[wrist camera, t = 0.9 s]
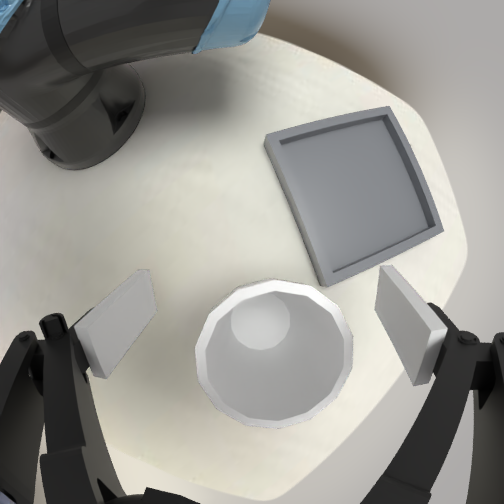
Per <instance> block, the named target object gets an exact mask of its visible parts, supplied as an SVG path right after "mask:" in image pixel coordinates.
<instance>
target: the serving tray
mask: <svg viewBox="0 0 504 504" xmlns="http://www.w3.org/2000/svg"><path fill="white" fill-rule="evenodd" d="M264 146H265V149H266V151H267V153H268V156H269V158H270V160H271V162H272V165H273V167H274V169H275V172H276V174H277V176H278V179H279V181H280V184H281V186H282V188H283V191H284V193H285V196H286V198H287V200H288V203H289V205H290V208H291V210H292V213H293V215H294V218H295V220H296V223H297V225H298V228H299V230H300V233H301V236H302V238H303V241H304V243H305V246H306V249H307V251H308V254H309V256H310V259H311V262H312V264H313V267H314V270H315V273H316V275H317V278H318V281H319V284H320V286H325V287H329V286H331V285H334V284H336V283H338V282H340V281H343V280H345V279H347V278H349V277H352V276H354V275H356V274H358V273H360V272H363V271H365V270H367V269H369V268H371V267H373V266H375V265H378V264H380V263H382V262H384V261H386V260H388V259H390V258H392V257H394V256H396V255H398V254H400V253H402V252H404V251H406V250H408V249H410V248H412V247H414V246H416V245H418V244H420V243H422V242H424V241H426V240H428V239H430V238H432V237H434V236H436V235H438V234H440V233H442V232H443V231H444V229H443V226H442V223H441V220H440V217H439V214H438V211H437V209H436V206H435V203H434V200H433V198H432V195H431V192H430V190H429V187H428V185H427V182H426V180H425V178H424V175H423V173H422V170H421V168H420V166H419V164H418V161H417V159H416V157H415V155H414V153H413V150H412V148H411V146H410V144H409V142H408V140H407V138H406V136H405V134H404V132H403V130H402V128H401V126H400V124H399V123H398V121H397V119H396V117H395V115H394V113H393V112H392V110H391V108H390V106H386V107H380V108H375V109H369V110H364V111H359V112H354V113H349V114H344V115H340V116H335V117H331V118H327V119H322V120H318V121H314V122H310V123H306V124H303V125H299V126H295V127H291V128H288V129H284V130H281V131H277V132H274V133H270V134H267V135H266V136H265V141H264Z"/></svg>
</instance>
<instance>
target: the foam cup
mask: <svg viewBox="0 0 504 504" xmlns="http://www.w3.org/2000/svg"><path fill="white" fill-rule="evenodd" d="M195 356H196V366H197V376H198V382H199V384H200V385H201V387H202V388H203V390H204V391H205V393H206V394H207V396H208V397H209V399H210V400H211V402H212V403H213V405H214V406H215V407H216V409H218V410H219V411H221V412H223V413H224V414H226V415H228V416H230V417H231V418H233V419H235V420H237V421H238V422H240V423H242V424H244V425H247V426H256V427H265V428H277V429H279V428H283V427H286V426H290V425H293V424H296V423H300V422H303V421H306V420H309V419H312V418H313V417H314V416H315V415H317V414H318V413H319V412H320V411H322V410H323V409H324V408H325V407H327V406H328V405H329V404H330V403H331V402H333V401H334V400H335V399H336V398H337V397H338V395H339V393H340V391H341V389H342V388H343V386H344V384H345V382H346V380H347V378H348V376H349V374H350V372H351V370H352V362H353V335H352V332H351V330H350V328H349V326H348V324H347V322H346V320H345V318H344V316H343V314H342V312H341V309H340V307H339V306H338V305H336V304H335V303H334V302H332V301H331V300H330V299H328V298H327V297H325V296H324V295H323V294H321V293H320V292H319V291H317V290H316V289H315V288H313V287H312V286H310V285H306V284H302V283H296V282H290V281H285V280H279V279H273V278H268V279H264V280H261V281H257V282H253V283H250V284H246V285H243V286H239V287H237V288H236V289H234V290H233V291H232V292H231V293H230V294H229V295H228V296H226V297H225V298H224V299H223V300H222V301H221V302H219V303H218V304H217V305H216V306H215V307H214V308H212V310H211V312H210V313H209V315H208V317H207V320H206V322H205V324H204V327H203V329H202V332H201V334H200V336H199V339H198V341H197V344H196V346H195Z"/></svg>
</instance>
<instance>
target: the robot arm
mask: <svg viewBox="0 0 504 504" xmlns="http://www.w3.org/2000/svg"><path fill="white" fill-rule="evenodd" d="M270 1H271V0H0V109H2V110H3V111H5V112H6V113H8V114H9V115H10V116H12V117H13V118H15V119H16V120H18V121H19V122H21V123H22V124H23V125H25V126H26V127H28V129H29V131H30V133H31V135H32V137H33V138H34V140H35V142H36V144H37V145H38V147H39V149H40V151H41V152H42V154H43V155H44V156H45V157H46V158H47V159H48V160H50V161H51V162H53V163H55V164H56V165H58V166H60V167H62V168H65V169H70V170H78V169H84V168H88V167H91V166H93V165H96V164H98V163H100V162H101V161H103V160H105V159H106V158H108V157H109V156H111V155H112V154H113V153H114V152H116V151H117V150H118V149H119V148H120V147H121V146H122V145H123V144H124V143H125V142H126V141H127V139H128V138H129V137H130V136H131V134H132V133H133V131H134V130H135V128H136V126H137V125H138V123H139V120H140V118H141V116H142V113H143V110H144V105H145V91H144V87H143V84H142V82H141V80H140V78H139V76H138V74H137V73H136V71H135V70H134V69H133V68H132V67H131V66H130V65H129V64H127V63H131V62H135V61H140V60H145V59H150V58H156V57H161V56H168V55H174V54H181V53H189V52H192V54H197V53H199V52H201V51H202V50H208V49H216V48H225V47H235V46H239V45H243V44H245V43H247V42H248V41H250V40H251V39H252V38H253V37H254V36H255V35H256V33H257V32H258V30H259V29H260V27H261V25H262V23H263V21H264V18H265V16H266V13H267V10H268V7H269V4H270ZM157 311H158V310H157V305H156V301H155V296H154V291H153V286H152V281H151V275H150V270H137V271H136V272H135V273H134V274H133V275H131V276H130V277H129V278H128V279H127V280H125V281H124V282H123V283H122V284H121V285H120V286H118V287H117V288H116V289H115V290H114V291H113V292H112V293H110V294H109V295H108V296H107V297H106V298H105V299H104V300H102V301H101V302H100V303H99V304H98V305H97V306H96V307H94V308H92V309H90V310H89V311H88V312H87V313H86V314H85V315H83V316H82V317H81V318H80V319H79V320H78V321H77V322H76V323H75V324H74V325H72V326H71V327H70V328H69V329H68V327H67V324H66V321H65V318H64V316H63V314H61V313H54V314H50V315H47V316H46V317H44V318H42V319H41V320H40V322H39V325H40V327H41V330H42V332H43V335H44V337H45V340H37V337H36V335H35V333H34V332H33V331H23V332H21V333H19V335H17V336H16V337H15V338H14V340H13V342H12V343H11V345H10V347H9V349H8V351H7V352H6V354H5V356H4V358H3V360H2V362H1V364H0V504H33V502H34V494H35V481H36V472H37V463H38V456H39V449H40V442H41V437H42V432H43V426H44V423H45V435H46V445H47V454H42V455H41V456H40V469H41V476H42V482H43V487H44V493H45V498H46V503H47V504H200V503H198V502H195V501H192V500H190V499H188V498H186V497H183V496H181V495H177V494H173V493H168V492H164V491H160V490H156V489H152V488H148V487H146V490H145V492H144V494H136V495H128V496H127V495H126V494H125V492H124V491H123V489H122V487H121V485H120V482H119V480H118V477H117V475H116V472H115V469H114V467H113V464H112V461H111V458H110V455H109V453H108V450H107V447H106V443H105V440H104V437H103V434H102V430H101V427H100V424H99V420H98V416H97V413H96V409H95V405H94V401H93V396H92V392H91V387H90V383H89V378H88V375H87V373H86V370H87V369H88V368H89V366H90V368H91V371H92V373H93V375H94V376H96V377H100V378H104V379H107V378H108V377H109V375H110V374H111V372H112V371H113V370H114V368H115V367H116V366H117V364H118V363H119V361H120V360H121V359H122V357H123V356H124V355H125V353H126V352H127V351H128V349H129V348H130V347H131V345H132V344H133V343H134V341H135V340H136V339H137V337H138V336H139V335H140V333H141V332H142V331H143V329H144V328H145V327H146V325H147V324H148V323H149V321H150V320H151V319H152V318H153V316H154V315H155V314H156V312H157ZM375 311H376V313H377V315H378V317H379V319H380V320H381V322H382V324H383V326H384V328H385V330H386V332H387V334H388V336H389V338H390V340H391V341H392V343H393V345H394V347H395V349H396V351H397V353H398V355H399V357H400V359H401V361H402V363H403V366H404V368H405V370H406V372H407V374H408V376H409V378H410V380H411V382H412V384H413V386H417V385H422V384H427V383H429V381H430V379H431V376H432V373H434V375H435V376H436V379H435V381H434V384H433V386H432V388H431V390H430V392H429V394H428V397H427V399H426V401H425V403H424V405H423V407H422V409H421V411H420V413H419V415H418V417H417V419H416V421H415V422H414V425H413V426H412V428H411V430H410V432H409V433H408V435H407V437H406V438H405V440H404V442H403V444H402V445H401V447H400V449H399V450H398V452H397V453H396V455H395V457H394V458H393V460H392V461H391V463H390V464H389V466H388V467H387V469H386V470H385V472H384V473H383V475H381V477H380V478H379V480H378V481H377V482H376V484H375V485H374V486H373V488H372V489H371V490H370V492H369V493H368V494H367V495H366V497H365V498H364V499H363V501H362V502H361V503H360V504H428V502H429V500H430V498H431V493H430V490H431V488H432V486H433V484H434V482H435V480H436V478H437V476H438V474H439V472H440V470H441V467H442V465H443V463H444V461H445V458H446V456H447V454H448V451H449V449H450V447H451V444H452V442H453V439H454V436H455V434H456V431H457V428H458V426H459V423H460V420H461V417H462V414H463V411H464V407H465V404H466V401H467V397H468V394H469V390H473V397H474V438H473V455H472V465H471V474H470V482H469V489H468V495H467V500H466V504H504V332H501V333H497V334H496V335H495V336H494V339H493V342H492V343H480V341H479V339H478V337H477V336H476V335H474V334H473V333H470V332H468V331H459V330H458V328H457V327H456V326H455V325H454V324H453V323H452V321H451V320H450V319H448V317H447V316H446V315H445V314H444V312H443V311H442V310H441V309H440V308H439V307H438V306H436V305H434V304H433V303H426V302H425V301H424V300H423V298H422V297H421V296H420V295H419V294H418V293H417V292H416V290H415V289H414V288H413V287H412V286H411V285H410V284H409V283H408V282H407V280H406V279H405V278H404V277H403V276H402V275H401V274H400V273H399V272H398V271H397V270H396V269H395V267H394V266H393V265H383V266H380V270H379V280H378V288H377V296H376V303H375Z"/></svg>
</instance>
